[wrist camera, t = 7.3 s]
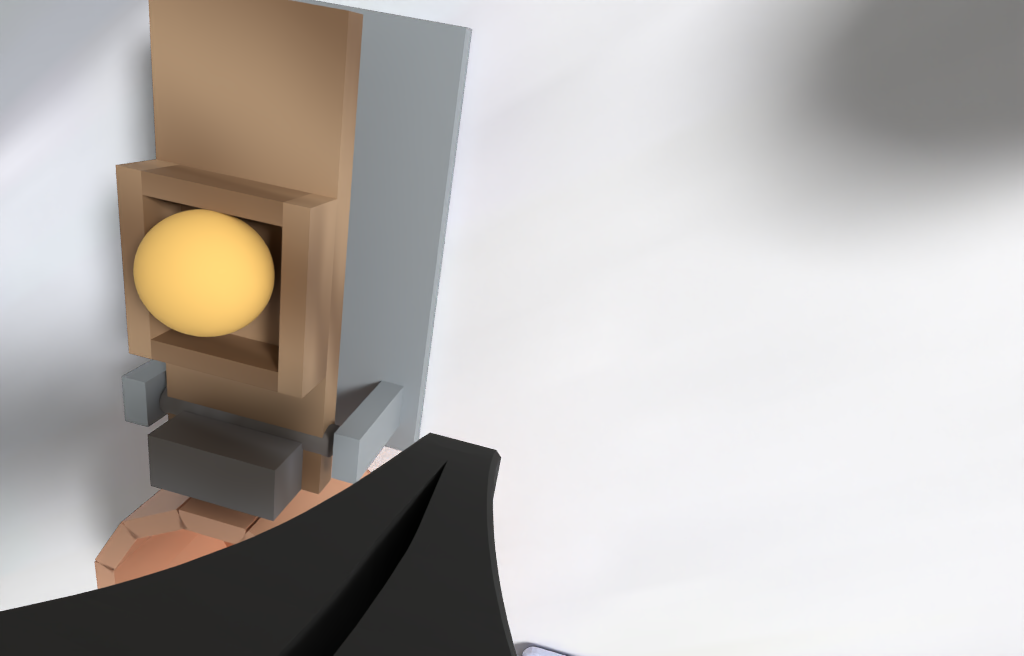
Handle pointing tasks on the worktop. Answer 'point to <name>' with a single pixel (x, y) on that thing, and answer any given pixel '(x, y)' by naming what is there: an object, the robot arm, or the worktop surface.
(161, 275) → the ball
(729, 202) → the worktop surface
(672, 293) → the worktop surface
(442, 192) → the stand
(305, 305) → the catapult lever
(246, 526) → the wooden basket
